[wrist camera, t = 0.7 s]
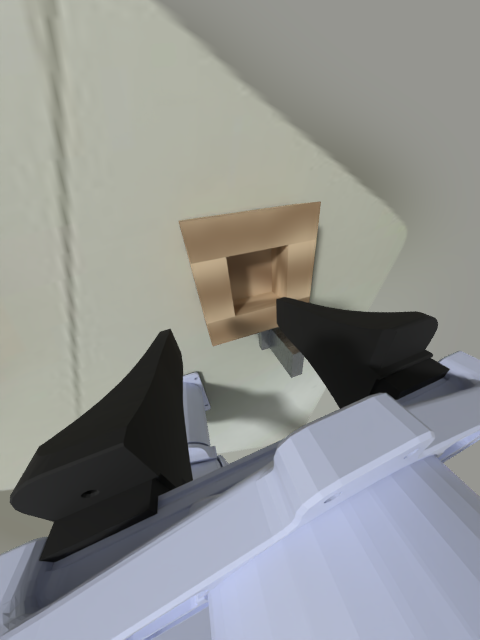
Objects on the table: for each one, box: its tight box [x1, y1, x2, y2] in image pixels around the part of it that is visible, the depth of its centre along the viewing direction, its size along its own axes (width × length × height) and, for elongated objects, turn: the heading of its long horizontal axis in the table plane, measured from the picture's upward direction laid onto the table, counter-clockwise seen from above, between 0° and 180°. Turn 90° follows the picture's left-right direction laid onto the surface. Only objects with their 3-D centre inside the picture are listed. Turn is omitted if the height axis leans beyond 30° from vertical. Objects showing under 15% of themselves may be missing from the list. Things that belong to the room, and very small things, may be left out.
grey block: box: [259, 327, 304, 378], centre depth 23 cm, size 4×4×7 cm
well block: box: [179, 202, 321, 346], centre depth 19 cm, size 12×12×4 cm
